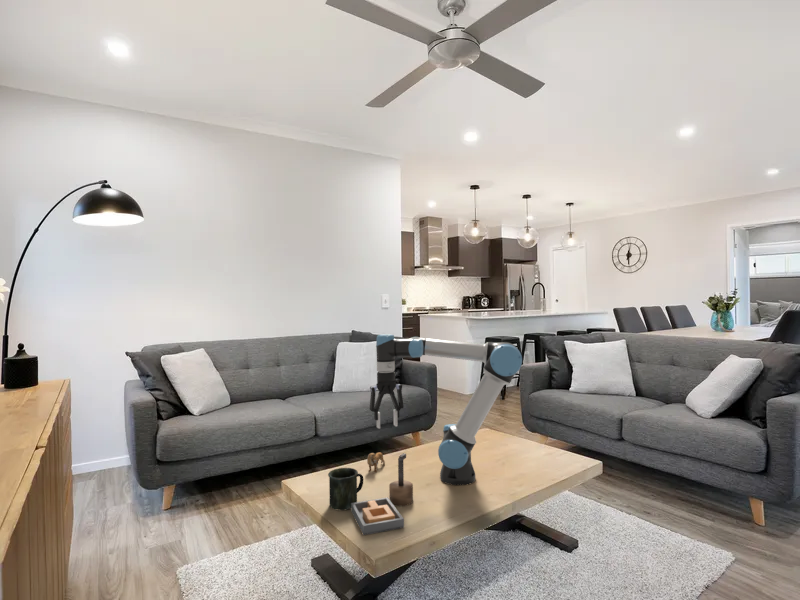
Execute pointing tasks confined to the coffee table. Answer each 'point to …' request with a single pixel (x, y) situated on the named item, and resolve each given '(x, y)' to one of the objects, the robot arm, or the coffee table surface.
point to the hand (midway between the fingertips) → (387, 426)
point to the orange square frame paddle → (377, 513)
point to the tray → (377, 526)
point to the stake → (401, 487)
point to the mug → (343, 487)
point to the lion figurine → (375, 460)
